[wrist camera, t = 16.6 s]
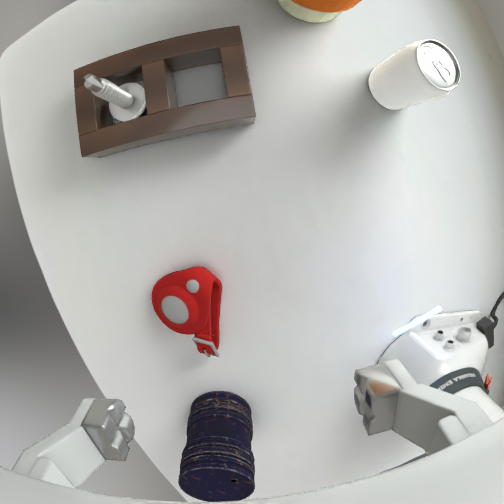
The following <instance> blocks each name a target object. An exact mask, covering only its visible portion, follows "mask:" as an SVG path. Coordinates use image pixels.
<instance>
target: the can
mask: <svg viewBox="0 0 504 504" xmlns="http://www.w3.org/2000/svg"><path fill="white" fill-rule="evenodd" d="M459 81H460V68H459V64H458V62H457V60H456V58H455V56H454V55H453V53H452V52H451V51H450V50H449V49H448V48H447V47H446V46H445V45H444V44H442V43H441V42H439V41H436V40H432V39H427V40H419V41H415V42H413V43H411V44H409V45H407V46H406V47H404V48H403V49H401V50H400V51H398V52H396V53H395V54H393V55H392V56H390V57H389V58H387V59H386V60H384V61H383V62H382V63H380V64H379V65H377V66H376V67H375V68H374V69H373V70H372V71H371V73H370V76H369V88H370V91H371V93H372V95H373V97H374V98H375V99H376V101H377V102H378V103H380V104H381V105H382V106H384V107H386V108H388V109H391V110H399V109H403V108H407V107H410V106H413V105H417V104H420V103H424V102H427V101H430V100H434V99H437V98H441V97H443V96H446V95H448V94H449V93H450V92H451V91H452V90H453V89H455V88H456V87H457V86H458V84H459Z"/></svg>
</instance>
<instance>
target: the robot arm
mask: <svg viewBox="0 0 504 504" xmlns="http://www.w3.org/2000/svg"><path fill="white" fill-rule="evenodd" d="M503 298H504V293H503V294H502V295H501V296H500V297H499V299H498V300H497V302H496V304H495V306H494V308H493V310H492V313H491V317H492V318H493V319H494V323H493V322H492V321H491V320H489V319H488V318H486V317H485V316H484V317H482V315H481V313H480V312H479V311H478V310H471V311H461V312H451V313H440V314H436V313H438V312H440V311H441V310H442V308H441V307H440V306H438V307H436V308H435V309H433V310H431V311H430V312H428V313H426V314H424V315H418V316H416V317H414V318H413V319H412V320H411V322H410V323H409V324H407V325H405V326H403V327H401V328H400V329H398V330H396V331H394V332H392V333H393V335H394V336H395V337H396V336H398V335H400V334H401V333H403V332H404V333H403V334H402V335H401V336H400V337H399V338H398V339H397V340H395V341H394V342H393V343H392V344H391V345H390V346H389V347H388V348H387V350H386V351H385V352H384V354H383V355H382V357H381V358H380V360H379V362H378V364H376V365H373V366H369V367H365V368H361V369H357V370H355V376H354V380H355V382H356V384H357V386H356V387H355V388H354V399H355V405H356V408H357V410H358V413H359V414H360V415H362V416H363V424H364V426H365V429H366V431H367V433H368V435H373V434H377V433H380V432H384V431H387V430H390V429H392V430H393V431H395V432H396V433H398V434H399V435H401V436H403V437H404V438H406V439H408V440H409V441H411V442H413V443H414V444H416V445H418V446H419V447H421V448H423V449H424V450H425V452H426V454H427V456H426V457H424V458H421V459H419V460H416V461H414V462H411V463H409V464H406V465H404V466H401V467H398V468H395V469H392V470H389V471H386V472H383V473H380V474H377V475H374V476H370V477H367V478H364V479H360V480H356V481H353V482H349V483H345V484H341V485H337V486H333V487H328V488H324V489H319V490H314V491H309V492H304V493H298V494H292V495H285V496H278V497H271V498H262V499H252V500H240V501H222V502H172V501H155V500H144V499H134V498H126V497H118V496H112V495H105V494H99V493H94V492H89V491H83V490H79V489H77V488H78V487H79V486H80V485H81V484H82V483H83V482H84V481H85V480H86V479H87V478H88V477H89V476H90V475H92V473H94V472H95V471H96V470H97V469H98V468H99V467H100V466H101V465H102V464H103V463H104V462H105V461H106V460H116V461H125V460H126V458H127V455H128V452H129V449H130V448H129V446H128V443H129V442H130V441H131V440H132V439H133V437H134V423H133V420H132V418H131V416H130V415H128V414H127V413H126V412H124V411H125V408H126V407H125V405H124V403H123V401H122V400H119V399H99V398H97V399H95V398H85V399H84V400H82V402H81V404H80V406H79V407H78V409H77V411H76V412H75V414H74V416H73V417H72V419H71V421H70V423H69V425H64V426H62V427H61V428H59V429H57V430H56V431H54V432H53V433H51V434H49V435H48V436H46V437H44V438H43V439H41V440H40V441H38V442H36V443H35V444H33V445H32V446H30V447H28V448H26V449H25V450H23V452H22V453H21V455H20V457H19V458H18V460H17V462H16V463H15V465H14V467H13V468H12V470H9V469H7V468H4V467H2V466H0V504H504V410H502V409H501V408H500V407H499V406H498V405H497V404H496V403H495V402H494V401H493V400H492V399H491V398H490V397H489V396H488V393H489V390H488V389H489V386H490V383H491V379H492V377H491V378H490V380H489V374H487V376H486V379H485V383H484V384H483V380H482V374H483V371H484V368H485V365H486V361H487V356H488V349H489V348H491V347H492V346H493V345H494V330H493V329H494V328H495V327H496V325H497V323H498V318H497V317H496V316H495V311H496V309H497V306H498V305H499V303H500V301H501V300H502V299H503ZM424 322H425V323H424ZM423 323H424V324H423ZM488 381H489V382H488Z"/></svg>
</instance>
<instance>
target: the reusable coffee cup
mask: <svg viewBox="0 0 504 504" xmlns="http://www.w3.org/2000/svg"><path fill="white" fill-rule="evenodd" d="M360 1H361V0H278V2H279V4H280V5H281V7H282V8H283V9H284V10H285V11H286V12H287V13H289V14H290V15H292V16H294V17H296V18H297V19H300V20H303V21H307V22H313V23H321V22H327V21H330V20H332V19H334V18H335V17H337V16H338V15H339V14H340V13H341V12H342V11H345V10H348V9H350V8H352V7H354V6H355V5H356V4H357V3H359V2H360Z"/></svg>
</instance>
